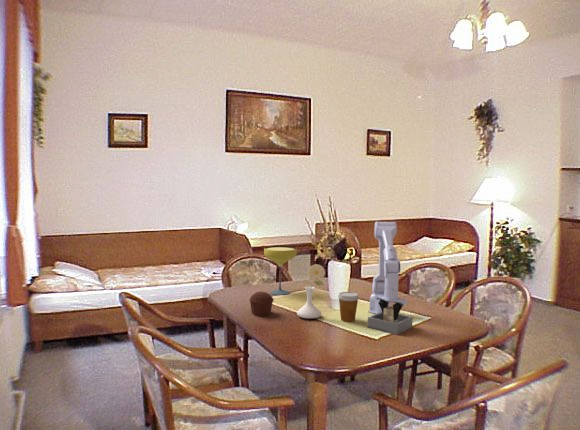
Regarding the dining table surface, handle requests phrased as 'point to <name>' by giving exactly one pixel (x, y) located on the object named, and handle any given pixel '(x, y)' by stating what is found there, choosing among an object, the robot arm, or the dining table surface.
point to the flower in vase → (309, 309)
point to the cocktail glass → (280, 260)
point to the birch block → (389, 315)
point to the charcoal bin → (390, 323)
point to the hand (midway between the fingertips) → (390, 318)
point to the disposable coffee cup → (348, 305)
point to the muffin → (261, 303)
